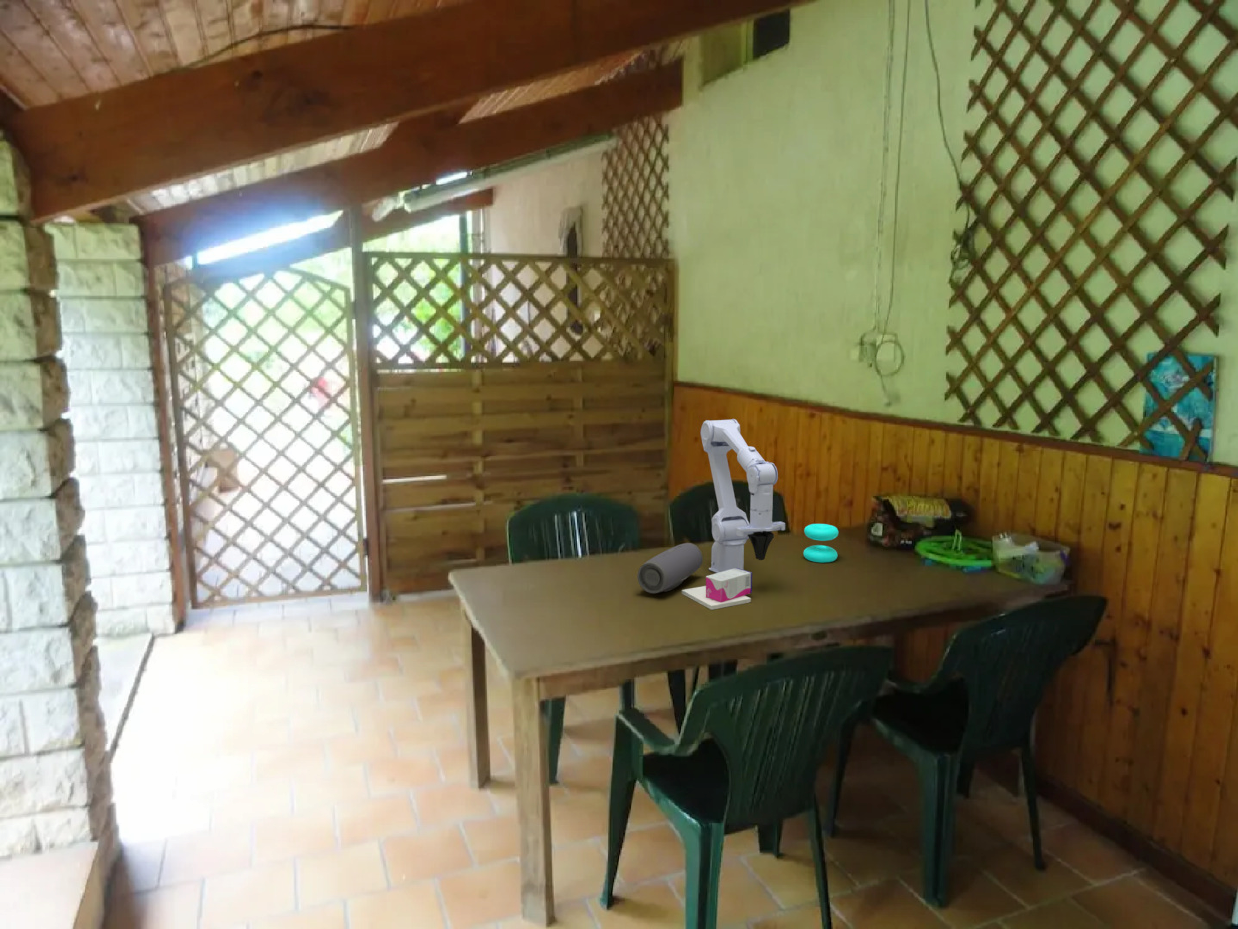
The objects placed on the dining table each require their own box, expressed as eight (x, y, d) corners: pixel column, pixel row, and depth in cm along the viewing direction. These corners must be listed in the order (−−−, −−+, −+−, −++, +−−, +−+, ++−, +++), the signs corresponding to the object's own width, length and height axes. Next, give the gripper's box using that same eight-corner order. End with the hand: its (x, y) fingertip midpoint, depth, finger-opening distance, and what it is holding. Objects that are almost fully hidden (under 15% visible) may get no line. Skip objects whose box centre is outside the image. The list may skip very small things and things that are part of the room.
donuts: (845, 528, 244) (818, 532, 240) (844, 561, 246) (817, 565, 242) (824, 521, 253) (797, 524, 249) (822, 552, 255) (796, 556, 251)
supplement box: (735, 567, 217) (705, 575, 210) (752, 572, 213) (722, 580, 206) (735, 588, 218) (704, 597, 211) (752, 593, 214) (721, 603, 207)
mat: (681, 593, 217) (681, 590, 217) (719, 586, 223) (719, 583, 222) (711, 609, 205) (711, 606, 205) (750, 602, 210) (750, 598, 210)
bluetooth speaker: (674, 572, 236) (674, 538, 234) (704, 577, 231) (704, 543, 229) (635, 595, 216) (635, 558, 215) (666, 601, 212) (666, 563, 210)
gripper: (747, 515, 209) (746, 566, 212) (793, 509, 216) (791, 559, 218) (731, 509, 216) (730, 559, 218) (776, 504, 222) (774, 552, 224)
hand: (760, 559), depth 219 cm, fingers closed
